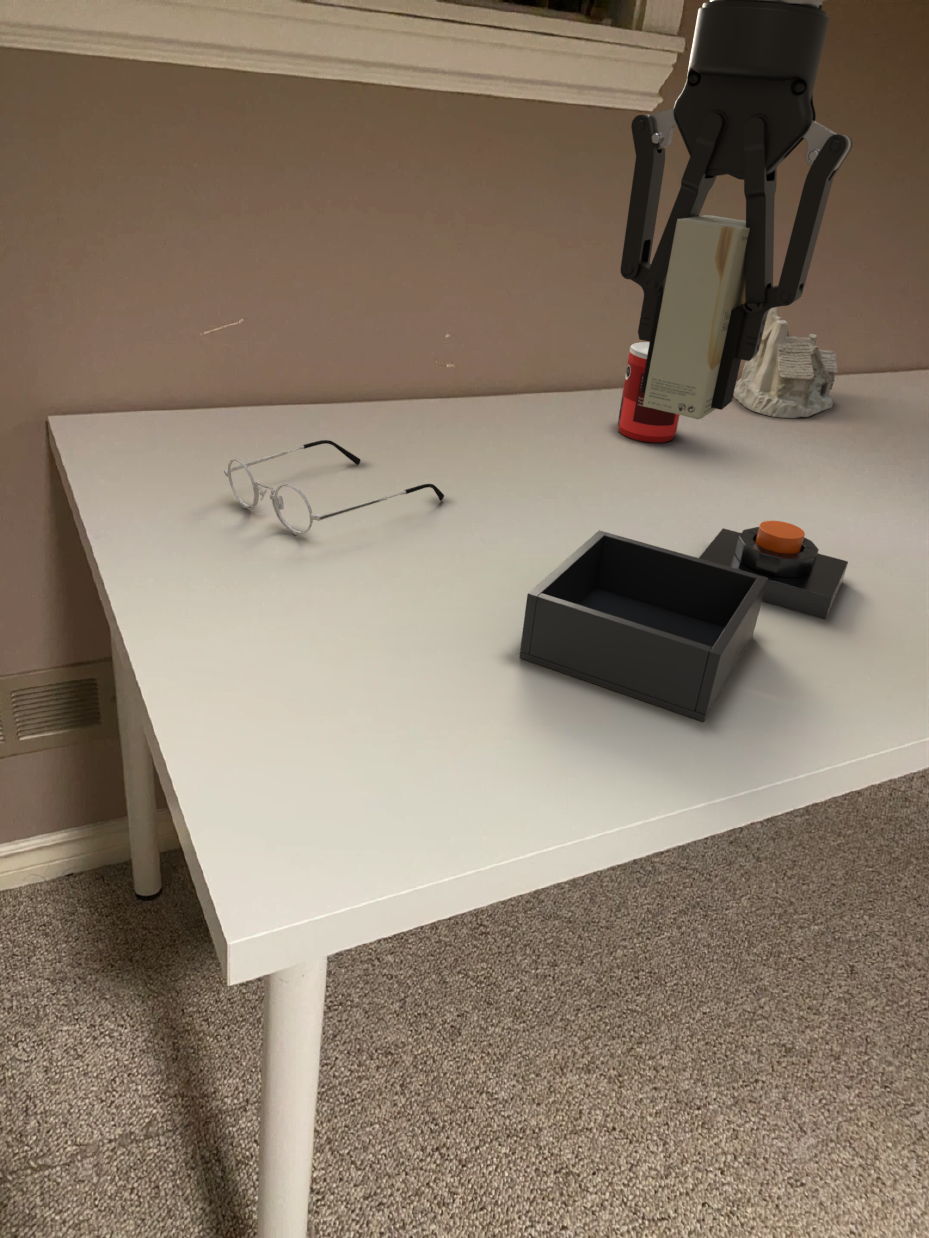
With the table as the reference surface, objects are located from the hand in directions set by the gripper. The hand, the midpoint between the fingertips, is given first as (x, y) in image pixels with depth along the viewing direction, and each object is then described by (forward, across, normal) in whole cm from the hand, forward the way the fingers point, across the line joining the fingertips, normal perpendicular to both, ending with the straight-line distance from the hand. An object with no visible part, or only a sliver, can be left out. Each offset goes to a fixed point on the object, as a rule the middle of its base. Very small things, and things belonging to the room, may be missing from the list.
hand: (686, 396), depth 66 cm
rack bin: (+20, 0, +1) cm, 20 cm away
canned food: (+20, +18, -53) cm, 60 cm away
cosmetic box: (+1, 0, 0) cm, 1 cm away
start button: (+17, -6, -18) cm, 26 cm away
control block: (+20, -6, -18) cm, 28 cm away
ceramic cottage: (+20, +6, -83) cm, 86 cm away
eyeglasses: (+20, +36, -8) cm, 42 cm away
